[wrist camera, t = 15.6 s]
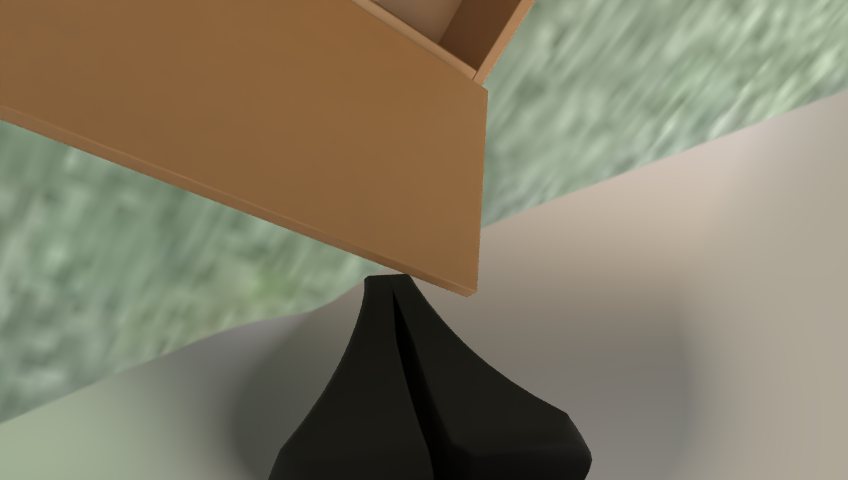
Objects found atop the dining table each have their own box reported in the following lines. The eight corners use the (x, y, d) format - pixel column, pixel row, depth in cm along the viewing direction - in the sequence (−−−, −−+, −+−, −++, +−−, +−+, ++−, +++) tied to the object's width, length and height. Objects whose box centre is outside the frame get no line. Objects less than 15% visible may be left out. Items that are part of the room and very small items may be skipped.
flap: (488, 90, 13) (480, 98, 13) (-130, -313, 7) (-119, -281, 8) (477, 293, 9) (466, 298, 10) (-716, -175, 4) (-653, -127, 4)
